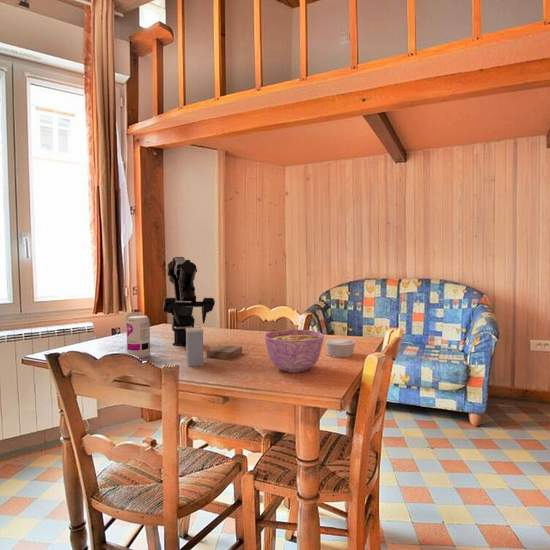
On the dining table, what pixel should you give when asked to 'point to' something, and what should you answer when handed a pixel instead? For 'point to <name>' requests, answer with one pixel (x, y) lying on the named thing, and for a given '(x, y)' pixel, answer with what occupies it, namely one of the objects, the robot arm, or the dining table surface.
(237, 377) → the dining table surface
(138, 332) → the supplement can
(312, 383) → the dining table surface
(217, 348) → the brown square tray
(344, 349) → the ramekin
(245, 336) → the dining table surface
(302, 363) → the bowl of food
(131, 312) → the character mug
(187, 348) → the tin
